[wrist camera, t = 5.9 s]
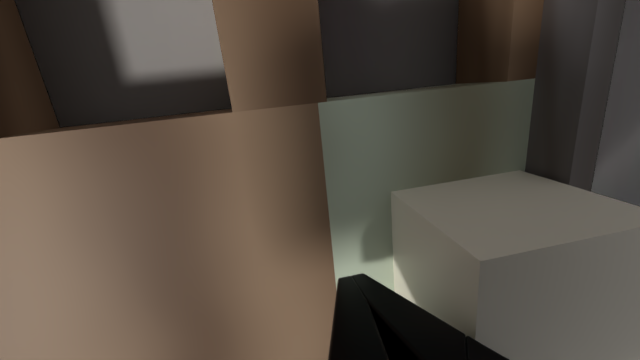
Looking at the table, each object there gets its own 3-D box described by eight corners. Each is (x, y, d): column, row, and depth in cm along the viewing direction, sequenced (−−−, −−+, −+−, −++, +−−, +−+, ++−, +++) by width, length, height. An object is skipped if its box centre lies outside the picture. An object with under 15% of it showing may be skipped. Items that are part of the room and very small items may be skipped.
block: (394, 311, 10) (469, 433, 7) (390, 191, 9) (480, 261, 5) (507, 285, 11) (633, 384, 7) (519, 169, 10) (679, 218, 6)
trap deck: (67, 373, 12) (-28, 509, 8) (-178, -152, 7) (-723, -454, 3) (481, 282, 14) (561, 351, 10) (513, -144, 9) (681, -302, 6)
